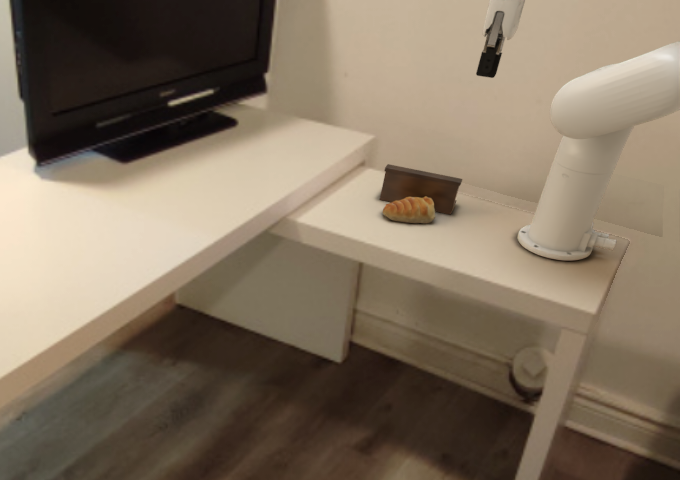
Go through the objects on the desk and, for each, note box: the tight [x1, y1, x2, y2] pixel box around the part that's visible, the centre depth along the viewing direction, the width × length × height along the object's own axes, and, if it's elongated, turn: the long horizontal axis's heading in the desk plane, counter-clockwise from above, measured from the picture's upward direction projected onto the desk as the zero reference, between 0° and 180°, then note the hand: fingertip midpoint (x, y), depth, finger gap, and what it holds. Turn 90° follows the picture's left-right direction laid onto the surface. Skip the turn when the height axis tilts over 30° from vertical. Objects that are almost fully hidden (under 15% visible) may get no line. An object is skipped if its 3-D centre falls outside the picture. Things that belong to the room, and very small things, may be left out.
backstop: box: [379, 163, 463, 215], centre depth 156 cm, size 14×5×7 cm, turn 62°
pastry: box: [382, 196, 436, 224], centre depth 152 cm, size 9×7×4 cm
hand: (485, 75), depth 142 cm, fingers closed
